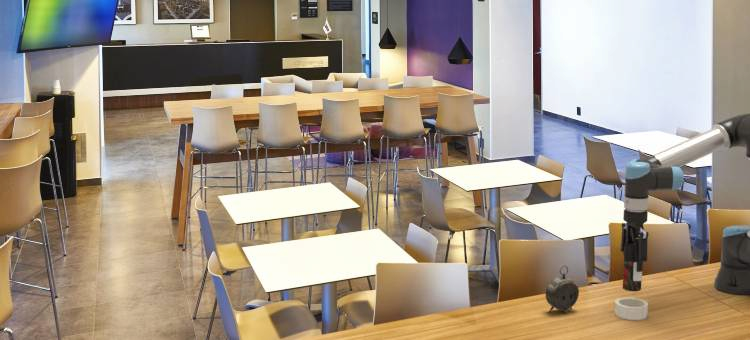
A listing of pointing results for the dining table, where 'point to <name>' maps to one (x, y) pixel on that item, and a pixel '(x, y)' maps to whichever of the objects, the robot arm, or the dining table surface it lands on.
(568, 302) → the alarm clock
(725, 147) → the robot arm
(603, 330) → the dining table surface
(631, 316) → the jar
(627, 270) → the deodorant
